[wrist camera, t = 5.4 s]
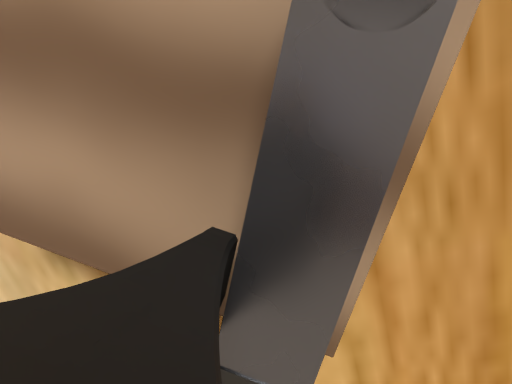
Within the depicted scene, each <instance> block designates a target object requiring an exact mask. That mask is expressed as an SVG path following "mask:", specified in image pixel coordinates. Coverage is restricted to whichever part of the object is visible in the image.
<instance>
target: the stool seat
mask: <svg viewBox="0 0 512 384" xmlns="http://www.w3.org/2000/svg"><path fill="white" fill-rule="evenodd" d="M291 1H292V0H0V233H3V234H5V235H8V236H11V237H13V238H16V239H19V240H21V241H24V242H27V243H29V244H32V245H35V246H37V247H40V248H43V249H45V250H48V251H51V252H53V253H56V254H59V255H61V256H64V257H67V258H69V259H72V260H74V261H77V262H80V263H82V264H85V265H88V266H90V267H93V268H96V269H98V270H101V271H104V272H106V273H109V274H112V273H115V272H117V271H120V270H123V269H125V268H128V267H130V266H132V265H135V264H137V263H140V262H142V261H144V260H147V259H149V258H152V257H154V256H156V255H158V254H160V253H162V252H164V251H167V250H169V249H171V248H173V247H175V246H177V245H179V244H181V243H183V242H185V241H187V240H189V239H191V238H193V237H195V236H197V235H199V234H201V233H203V232H204V231H206V230H207V229H209V228H211V227H215V228H218V229H221V230H224V231H227V232H230V233H233V234H236V237H237V239H238V242H237V246H236V251H235V255H234V259H233V264H232V268H231V272H230V277H229V281H228V285H227V290H226V294H225V297H224V300H223V302H222V304H221V307H220V312H219V315H221V316H224V311H225V306H226V302H227V297H228V293H229V288H230V283H231V279H232V274H233V269H234V265H235V260H236V256H237V251H238V246H239V242H240V237H241V232H242V228H243V223H244V219H245V214H246V209H247V205H248V200H249V195H250V191H251V186H252V182H253V177H254V172H255V168H256V163H257V158H258V154H259V149H260V145H261V140H262V135H263V131H264V126H265V121H266V117H267V112H268V108H269V103H270V98H271V94H272V89H273V84H274V80H275V75H276V71H277V66H278V61H279V57H280V52H281V47H282V43H283V38H284V34H285V29H286V24H287V20H288V15H289V10H290V6H291ZM480 1H481V0H458V1H457V4H456V7H455V9H454V12H453V15H452V17H451V20H450V23H449V25H448V28H447V31H446V33H445V36H444V39H443V41H442V44H441V47H440V49H439V52H438V55H437V57H436V60H435V62H434V65H433V68H432V70H431V73H430V76H429V78H428V81H427V84H426V86H425V89H424V92H423V94H422V97H421V100H420V102H419V105H418V108H417V110H416V113H415V116H414V118H413V121H412V124H411V126H410V129H409V132H408V134H407V137H406V140H405V142H404V145H403V148H402V150H401V153H400V156H399V158H398V161H397V164H396V166H395V169H394V172H393V174H392V177H391V180H390V182H389V185H388V188H387V190H386V193H385V196H384V198H383V201H382V204H381V206H380V209H379V212H378V214H377V217H376V220H375V222H374V225H373V228H372V230H371V233H370V236H369V238H368V241H367V244H366V246H365V249H364V252H363V254H362V257H361V260H360V262H359V265H358V268H357V270H356V273H355V276H354V278H353V281H352V284H351V286H350V289H349V291H348V294H347V297H346V299H345V302H344V305H343V307H342V310H341V313H340V315H339V318H338V321H337V323H336V326H335V329H334V331H333V334H332V337H331V339H330V342H329V345H328V347H327V350H326V353H325V355H327V356H330V357H333V356H334V354H335V351H336V349H337V347H338V344H339V342H340V339H341V337H342V335H343V332H344V330H345V327H346V325H347V322H348V320H349V318H350V315H351V313H352V310H353V308H354V305H355V303H356V301H357V298H358V296H359V293H360V291H361V289H362V286H363V284H364V281H365V279H366V276H367V274H368V272H369V269H370V267H371V264H372V262H373V260H374V257H375V255H376V252H377V250H378V247H379V245H380V243H381V240H382V238H383V235H384V233H385V230H386V228H387V226H388V223H389V221H390V218H391V216H392V214H393V211H394V209H395V206H396V204H397V201H398V199H399V197H400V194H401V192H402V189H403V187H404V185H405V182H406V180H407V177H408V175H409V172H410V170H411V168H412V165H413V163H414V160H415V158H416V155H417V153H418V151H419V148H420V146H421V143H422V141H423V139H424V136H425V134H426V131H427V129H428V126H429V124H430V122H431V119H432V117H433V114H434V112H435V110H436V107H437V105H438V102H439V100H440V97H441V95H442V93H443V90H444V88H445V85H446V83H447V80H448V78H449V76H450V73H451V71H452V68H453V66H454V64H455V61H456V59H457V56H458V54H459V51H460V49H461V47H462V44H463V42H464V39H465V37H466V35H467V32H468V30H469V27H470V25H471V22H472V20H473V18H474V15H475V13H476V10H477V8H478V5H479V3H480Z"/></svg>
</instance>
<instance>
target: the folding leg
mask: <svg viewBox="0 0 512 384" xmlns="http://www.w3.org/2000/svg"><path fill="white" fill-rule="evenodd" d="M457 1H458V0H292V1H291V6H290V10H289V15H288V20H287V24H286V29H285V34H284V38H283V43H282V47H281V52H280V57H279V61H278V66H277V71H276V75H275V80H274V84H273V89H272V94H271V98H270V103H269V108H268V112H267V117H266V121H265V126H264V131H263V135H262V140H261V145H260V149H259V154H258V158H257V163H256V168H255V172H254V177H253V182H252V186H251V191H250V195H249V200H248V205H247V209H246V214H245V219H244V223H243V228H242V232H241V237H240V242H239V246H238V251H237V256H236V260H235V265H234V269H233V274H232V279H231V283H230V288H229V293H228V297H227V302H226V306H225V311H224V316H223V320H222V325H221V330H220V334H219V352H220V369H221V379H222V384H314V382H315V379H316V377H317V374H318V371H319V369H320V366H321V363H322V361H323V358H324V355H325V353H326V350H327V347H328V345H329V342H330V339H331V337H332V334H333V331H334V329H335V326H336V323H337V321H338V318H339V315H340V313H341V310H342V307H343V305H344V302H345V299H346V297H347V294H348V291H349V289H350V286H351V284H352V281H353V278H354V276H355V273H356V270H357V268H358V265H359V262H360V260H361V257H362V254H363V252H364V249H365V246H366V244H367V241H368V238H369V236H370V233H371V230H372V228H373V225H374V222H375V220H376V217H377V214H378V212H379V209H380V206H381V204H382V201H383V198H384V196H385V193H386V190H387V188H388V185H389V182H390V180H391V177H392V174H393V172H394V169H395V166H396V164H397V161H398V158H399V156H400V153H401V150H402V148H403V145H404V142H405V140H406V137H407V134H408V132H409V129H410V126H411V124H412V121H413V118H414V116H415V113H416V110H417V108H418V105H419V102H420V100H421V97H422V94H423V92H424V89H425V86H426V84H427V81H428V78H429V76H430V73H431V70H432V68H433V65H434V62H435V60H436V57H437V55H438V52H439V49H440V47H441V44H442V41H443V39H444V36H445V33H446V31H447V28H448V25H449V23H450V20H451V17H452V15H453V12H454V9H455V7H456V4H457Z"/></svg>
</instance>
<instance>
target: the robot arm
mask: <svg viewBox="0 0 512 384" xmlns="http://www.w3.org/2000/svg"><path fill="white" fill-rule="evenodd" d="M237 242H238V239H237V237H236V234H233V233H230V232H227V231H224V230H221V229H218V228H215V227H211V228H209V229H207V230H206V231H204V232H203V233H201V234H199V235H197V236H195V237H193V238H191V239H189V240H187V241H185V242H183V243H181V244H179V245H177V246H175V247H173V248H171V249H169V250H167V251H164V252H162V253H160V254H158V255H156V256H154V257H152V258H149V259H147V260H144V261H142V262H140V263H137V264H135V265H132V266H130V267H128V268H125V269H123V270H120V271H117V272H115V273H112V274H109V275H106V276H103V277H100V278H97V279H94V280H91V281H88V282H84V283H81V284H78V285H75V286H71V287H67V288H63V289H59V290H55V291H51V292H47V293H43V294H38V295H34V296H30V297H26V298H22V299H17V300H12V301H7V302H1V303H0V384H222V379H221V369H220V352H219V312H220V307H221V304H222V302H223V300H224V297H225V294H226V290H227V285H228V281H229V277H230V272H231V268H232V264H233V259H234V255H235V251H236V246H237Z"/></svg>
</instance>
